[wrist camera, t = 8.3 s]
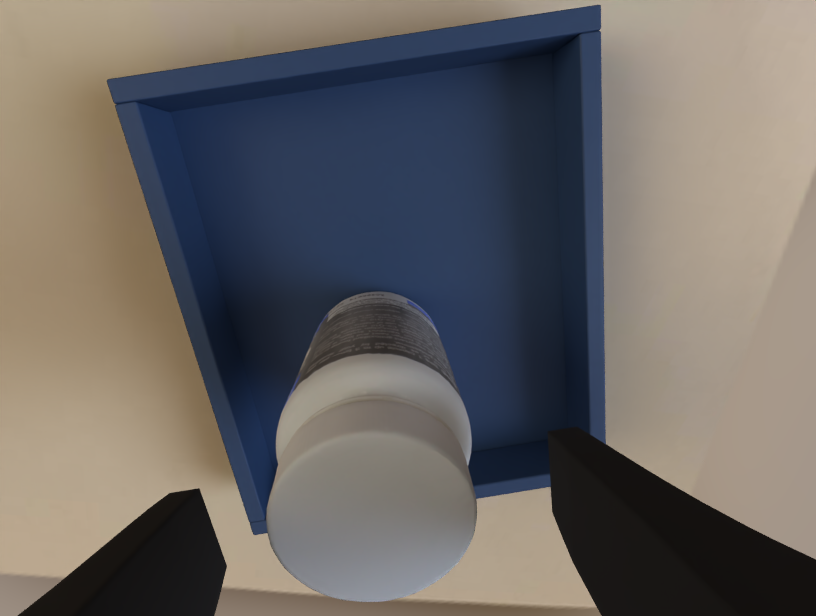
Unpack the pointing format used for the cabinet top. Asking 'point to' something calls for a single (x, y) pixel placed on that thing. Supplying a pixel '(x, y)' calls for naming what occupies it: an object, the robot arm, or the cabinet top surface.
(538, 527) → the cabinet top surface
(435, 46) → the blue tray
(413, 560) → the pill bottle
